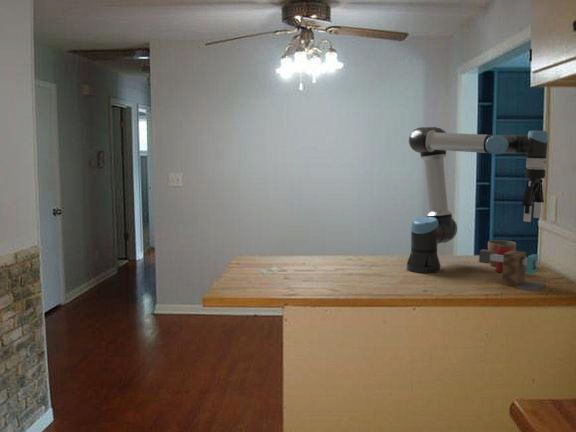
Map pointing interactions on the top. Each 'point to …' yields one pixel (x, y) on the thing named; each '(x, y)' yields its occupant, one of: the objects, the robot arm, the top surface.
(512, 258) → the bearing block
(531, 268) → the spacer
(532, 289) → the pad
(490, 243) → the planter
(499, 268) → the beer can
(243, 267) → the top surface
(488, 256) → the shaft
